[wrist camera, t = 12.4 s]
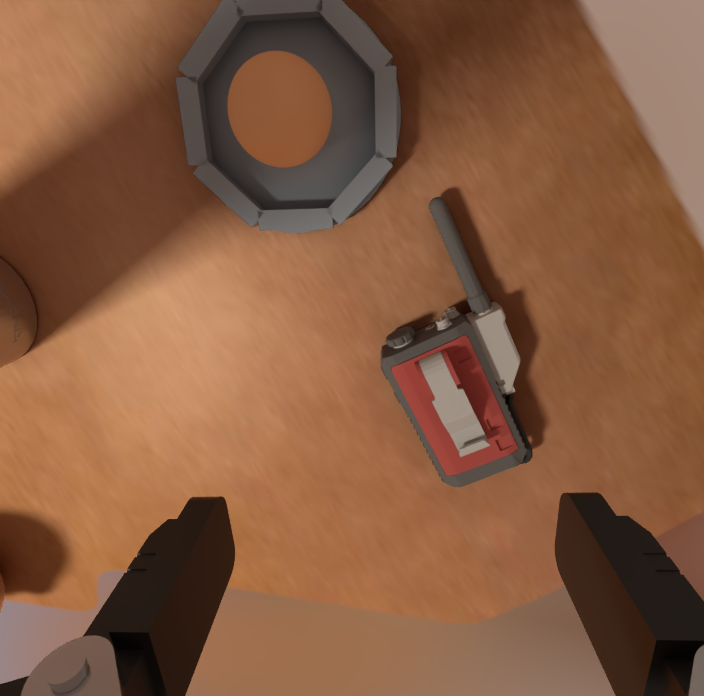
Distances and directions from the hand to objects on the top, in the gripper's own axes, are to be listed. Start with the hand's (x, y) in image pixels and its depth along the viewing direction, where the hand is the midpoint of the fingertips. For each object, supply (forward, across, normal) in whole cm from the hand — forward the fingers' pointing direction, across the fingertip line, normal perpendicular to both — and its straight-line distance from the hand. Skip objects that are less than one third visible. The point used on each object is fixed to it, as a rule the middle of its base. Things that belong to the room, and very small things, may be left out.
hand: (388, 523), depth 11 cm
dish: (+21, +5, -12) cm, 25 cm away
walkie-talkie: (+22, -4, +4) cm, 23 cm away
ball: (+18, +5, -12) cm, 22 cm away
